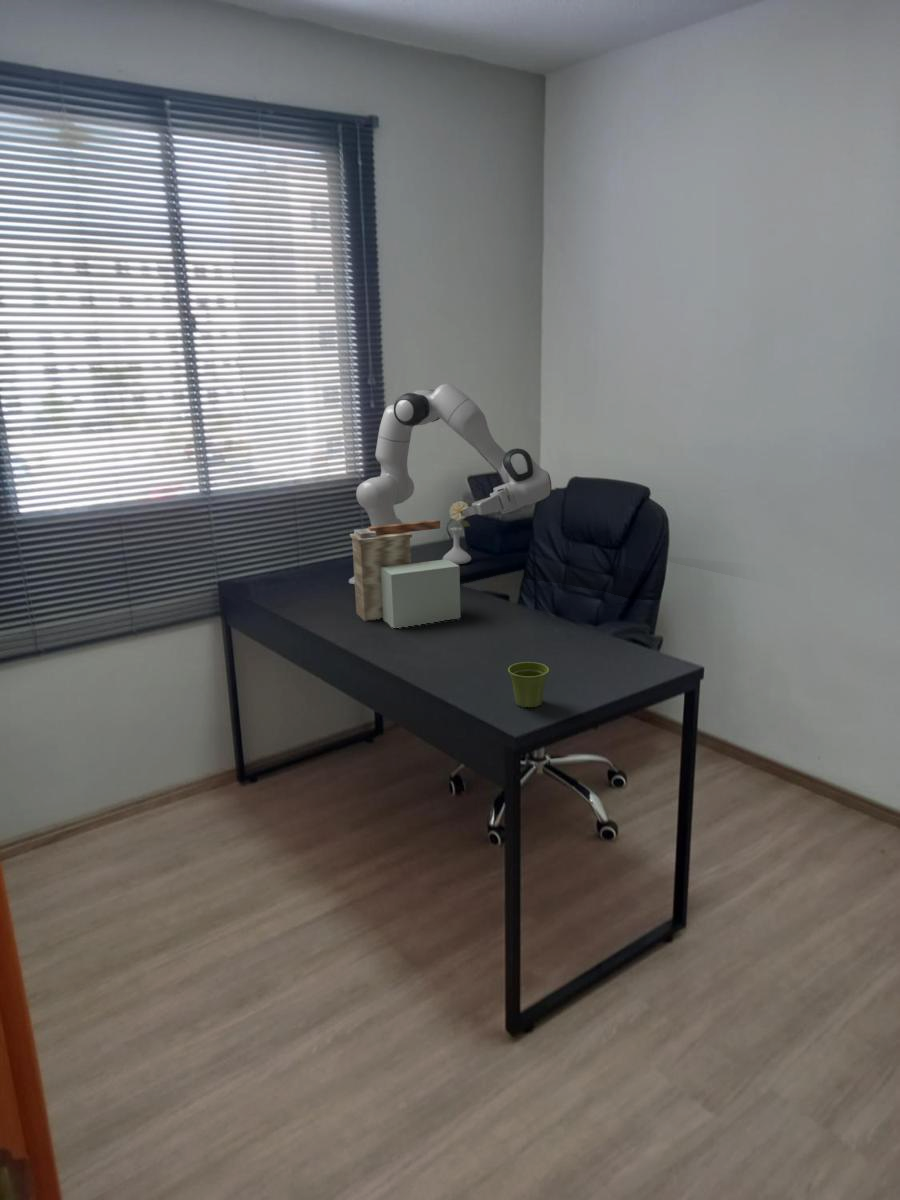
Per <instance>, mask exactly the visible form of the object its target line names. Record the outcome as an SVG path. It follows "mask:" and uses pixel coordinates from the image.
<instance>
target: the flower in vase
mask: <svg viewBox="0 0 900 1200" xmlns="http://www.w3.org/2000/svg"><path fill="white" fill-rule="evenodd" d="M469 507H470V506H469V504H468V503H466V502H465V501H462V500H460V501H456V502H453V503H452V505H450V508H449V517H450V519H452V520H453V521H452V520H450V522H451V523H453V524H455V525H457V527H450V528H449V530H450V532H451V533H452V538H453V546H452V548H451V549H450V550H449V551H448V552H446V553H445V554H444V555H443V557H442V559H441V560H444V559H448V560H449V561H451V562H453V563H455V564H457V565H463V564H467V563H469V562H471V560H472V557H471V555H470V554H469V553H468V552H467V551H465V550H464V549H462V547H461V545H460V536H461V532H462V531H463V528H465V527H470V526H471V525H470V524H469V522H468V521H467V520H464V519H466V517H464V516H461V514H460V511H462V510H465V509H467V508H469ZM454 520H455V521H456V522H455V521H454ZM458 521H460V523H459V524H457V522H458ZM460 525H461V526H462V527H463V528H462V527H460Z"/></svg>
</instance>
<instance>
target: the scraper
mask: <svg viewBox="0 0 900 1200" xmlns="http://www.w3.org/2000/svg"><path fill="white" fill-rule="evenodd" d="M439 529H441V520H439V519H432V520H422V521H413V522H404V523H403V522H402V523H401V524H392V525H382V526H373V527H371V526H368V527H367V528H359V529H353V534H354V535H356V536H357V537H359V538H360V539H363V538H373V537H377V536H376V535H385V534H394V533H403V532H409V533H412V532H418V531H419V532H420V531H429V530H439Z"/></svg>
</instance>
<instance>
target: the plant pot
mask: <svg viewBox="0 0 900 1200" xmlns="http://www.w3.org/2000/svg"><path fill="white" fill-rule="evenodd" d="M507 671H508V673H509V675H510V678H511V682H512V688H513V693H514V699H515V704H516V706H518V705H519V706H518V707H520V706H521V707H520V708H523V707H528V708H533V707H535V708H538V707H540V706H541V705H542V703H543V698H544V697H543V695H544V689H545V683H546V678H547V675H548V674H549V671H550V669H549V667H548V666H547V665H546V664H544V663H540V662H534V661H533V662H532V661H524V662H517V663H514V664H511V665H510V666H509V667H508V669H507ZM539 705H540V706H539ZM537 706H538V707H537Z"/></svg>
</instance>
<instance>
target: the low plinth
mask: <svg viewBox="0 0 900 1200" xmlns="http://www.w3.org/2000/svg"><path fill="white" fill-rule="evenodd" d="M460 576H461V573H460V564H455V563H453V562H451V561H449V560H448V559H444V560H442V559H438V560H429V561H422V562H414V563H412V562H411V564H404V565H395V566H387V567H381V586H382V606H383V619H382V620H383V621H384V622H385V623H386V622H387V623H388V624H389V625H390V626H389V625H388V624H387V623H386V624H387V625H388V626H389V627H390V628H392V627H393V628H399V629H402V628H401V627H405V628H409V627H408V626H412V627H415V626H414V625H418V626H422V625H421V624H425V625H427V624H426V623H431V624H435V623H434V622H438V623H440V622H439V621H444V620H450V619H457V618H461V617H462V616H461V581H460V578H461V577H460ZM457 620H458V619H457ZM444 622H445V621H444ZM393 628H392V629H393Z"/></svg>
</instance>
